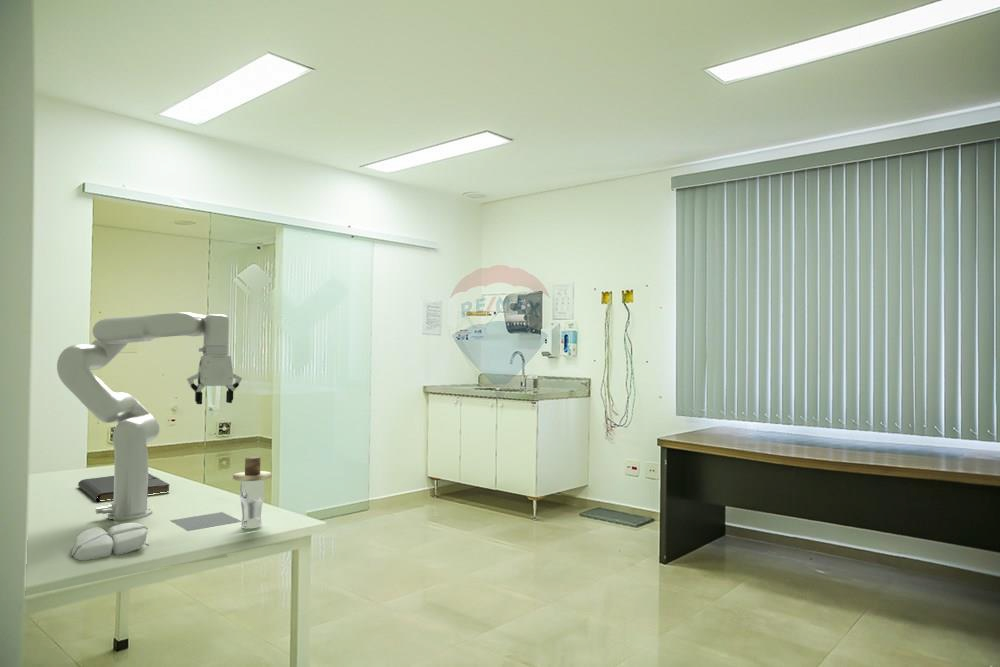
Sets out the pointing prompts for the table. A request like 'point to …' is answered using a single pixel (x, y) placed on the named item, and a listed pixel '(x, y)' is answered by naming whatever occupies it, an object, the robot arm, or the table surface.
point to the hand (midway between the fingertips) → (214, 403)
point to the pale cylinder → (251, 503)
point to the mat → (205, 521)
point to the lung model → (109, 541)
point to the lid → (252, 471)
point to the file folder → (105, 486)
